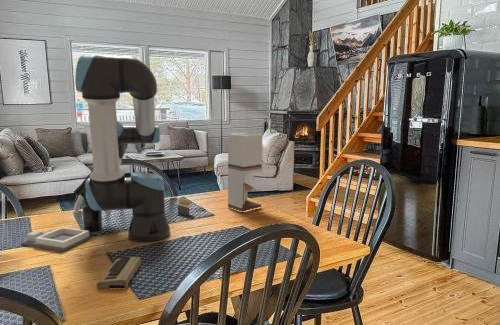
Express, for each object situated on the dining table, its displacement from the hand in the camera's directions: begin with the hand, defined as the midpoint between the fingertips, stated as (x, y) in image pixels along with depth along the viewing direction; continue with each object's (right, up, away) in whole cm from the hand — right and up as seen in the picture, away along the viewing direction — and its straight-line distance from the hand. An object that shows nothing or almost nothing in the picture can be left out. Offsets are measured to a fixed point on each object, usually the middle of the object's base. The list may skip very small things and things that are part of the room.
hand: (91, 211), depth 149 cm
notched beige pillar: (+59, -3, +32) cm, 67 cm away
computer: (+24, -14, -38) cm, 47 cm away
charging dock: (-7, -9, -12) cm, 17 cm away
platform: (+32, -4, +22) cm, 40 cm away
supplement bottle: (0, -7, +1) cm, 7 cm away
